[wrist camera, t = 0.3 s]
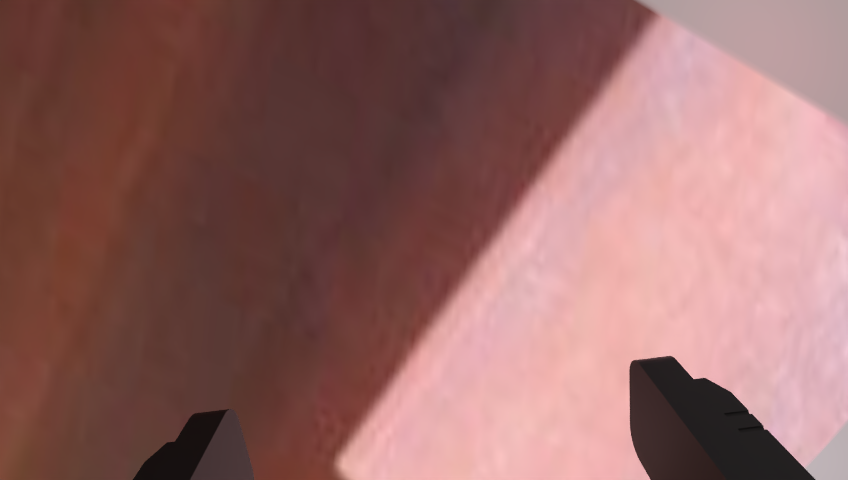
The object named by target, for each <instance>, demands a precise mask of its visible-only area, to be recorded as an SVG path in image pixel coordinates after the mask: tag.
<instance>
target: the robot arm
mask: <svg viewBox="0 0 848 480" xmlns="http://www.w3.org/2000/svg"><path fill="white" fill-rule="evenodd" d="M630 429H631V436H632V441H633V445H634V448H635V451H636V453H637V456H638V458H639V460H640V462H641V463H642V465H643V467H644V469H645V470H646V472H647V474H648V476H649V477H650V479H651V480H815V479H814V478H813V477H812V476H811V475H810V474H809V473H808V472H807V471H806V469H805V468H804V467H803V466H802V465H801V464H800V463H799V462H798V461H797V460H796V459H795V458H794V457H793V456H792V455H791V454H790V453H789V452H788V451H787V450H786V449H785V448H784V447H783V446H782V445H781V444H780V443H779V442H778V440H777V439H776V438H775V437H774V436H773V435H772V434H771V433H770V432H769V431H768V430H764V428H763V425H762V424H761V423H760V422H759V421H758V420H757V419H756V418H755V417H754V416H753V415H752V414H749V412H748V409H747V408H746V407H745V406H744V405H743V404H742V403H741V402H740V401H739V400H738V399H737V398H736V397H735V396H734V395H733V394H732V393H731V392H730V391H728V390H726V389H724V388H722V387H720V386H719V385H717V384H715V383H713V382H711V381H710V380H708V379H706V378H701V379H693V378H692V377H691V376H690V375H689V374H688V373H687V371H686V370H685V369H684V368H683V367H682V366H681V365H680V364H679V362H678V361H677V360H676V359H675V358H674V357H672V356H666V357H658V358H650V359H642V360H634V361H632V362H631V365H630ZM133 480H254V475H253V469H252V466H251V462H250V458H249V455H248V451H247V447H246V444H245V440H244V437H243V433H242V429H241V426H240V422H239V419H238V416H237V414H236V412H235V411H234V410H232V409H227V410H219V411H211V412H203V413H195V414H193V415H192V416H191V417H190V419H189V420H188V422H187V423H186V425H185V427H184V428H183V430H182V431H181V433H180V435H179V436H178V438H177V439H176V441H175V442H168V443H166V444H165V445H164V446H163V447H162V448H160V449H159V450H158V451H157V452H156V453H155V454H153V455H152V456H151V457H150V458H149V459H148V460H147V461H145V462H144V464H143V465H142V467H141V468H140V470H139V471H138V473H137V474H136V476H135V477H134V479H133Z"/></svg>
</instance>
